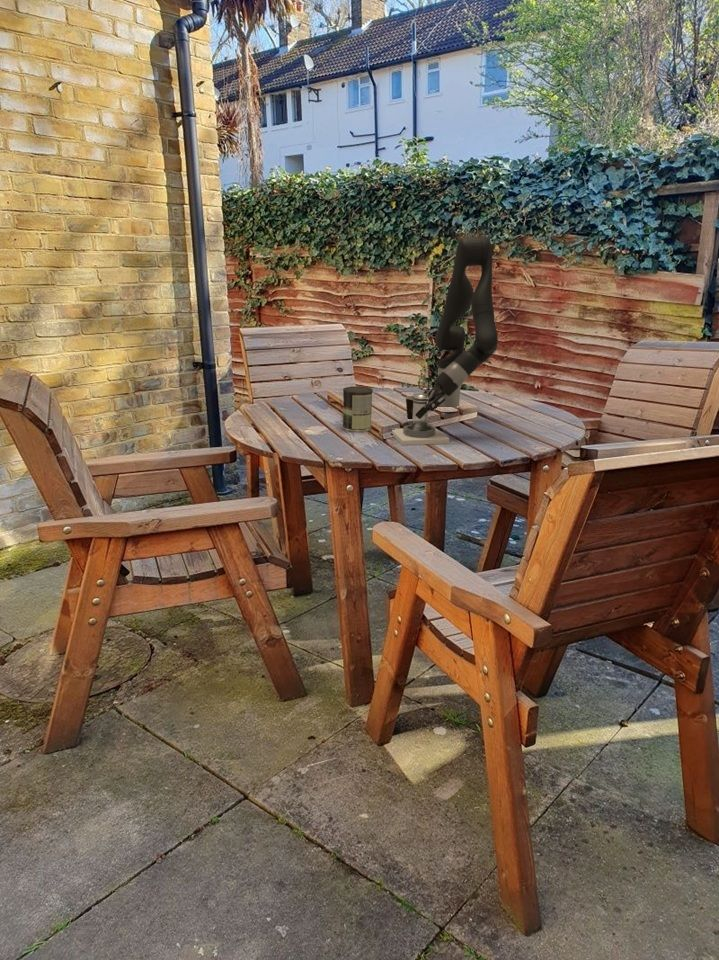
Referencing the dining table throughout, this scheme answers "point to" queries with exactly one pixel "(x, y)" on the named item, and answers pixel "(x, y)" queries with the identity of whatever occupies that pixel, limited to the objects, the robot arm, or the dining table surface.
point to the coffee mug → (409, 406)
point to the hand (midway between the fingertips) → (415, 415)
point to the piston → (418, 403)
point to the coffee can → (357, 409)
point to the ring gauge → (419, 436)
